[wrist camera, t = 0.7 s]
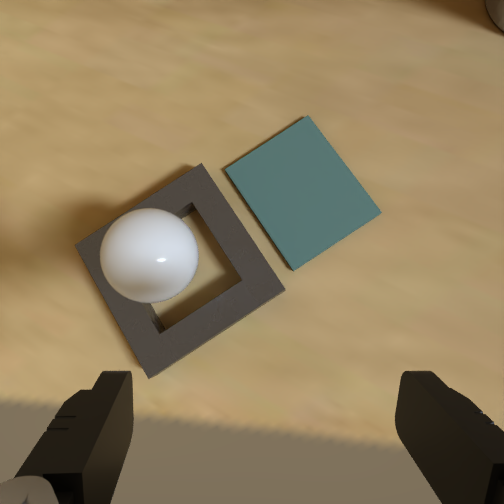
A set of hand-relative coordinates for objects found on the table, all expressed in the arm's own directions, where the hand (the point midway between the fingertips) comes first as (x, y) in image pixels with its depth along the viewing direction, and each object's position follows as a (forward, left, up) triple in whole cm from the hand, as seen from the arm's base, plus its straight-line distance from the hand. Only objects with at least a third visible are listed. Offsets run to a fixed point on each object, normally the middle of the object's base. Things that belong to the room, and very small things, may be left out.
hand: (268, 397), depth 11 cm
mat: (-9, -10, -20) cm, 24 cm away
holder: (+4, -10, -20) cm, 23 cm away
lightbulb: (+4, -10, -20) cm, 23 cm away
